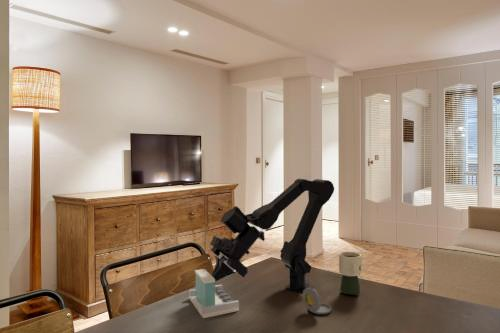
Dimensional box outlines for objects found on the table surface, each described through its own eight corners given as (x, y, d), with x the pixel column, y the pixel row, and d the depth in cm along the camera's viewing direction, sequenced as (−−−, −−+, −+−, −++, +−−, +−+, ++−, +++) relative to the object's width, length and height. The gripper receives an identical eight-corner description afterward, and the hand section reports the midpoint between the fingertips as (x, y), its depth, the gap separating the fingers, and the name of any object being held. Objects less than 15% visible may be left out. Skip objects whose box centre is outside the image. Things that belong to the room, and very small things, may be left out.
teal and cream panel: (205, 294, 116) (204, 268, 116) (215, 307, 107) (215, 279, 106) (195, 296, 115) (194, 270, 114) (205, 309, 105) (204, 280, 105)
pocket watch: (332, 307, 109) (332, 274, 108) (329, 319, 101) (329, 284, 101) (305, 303, 112) (305, 271, 111) (300, 315, 104) (299, 281, 103)
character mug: (365, 300, 114) (366, 259, 113) (343, 300, 114) (343, 259, 113) (356, 286, 125) (356, 249, 124) (335, 286, 125) (335, 249, 124)
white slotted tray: (221, 292, 121) (221, 284, 121) (238, 310, 107) (238, 301, 107) (189, 298, 116) (189, 290, 116) (203, 318, 103) (203, 308, 103)
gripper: (216, 221, 121) (184, 257, 117) (237, 232, 104) (201, 276, 100) (238, 241, 125) (207, 278, 121) (262, 256, 108) (227, 299, 104)
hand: (210, 282), depth 111 cm, fingers closed
